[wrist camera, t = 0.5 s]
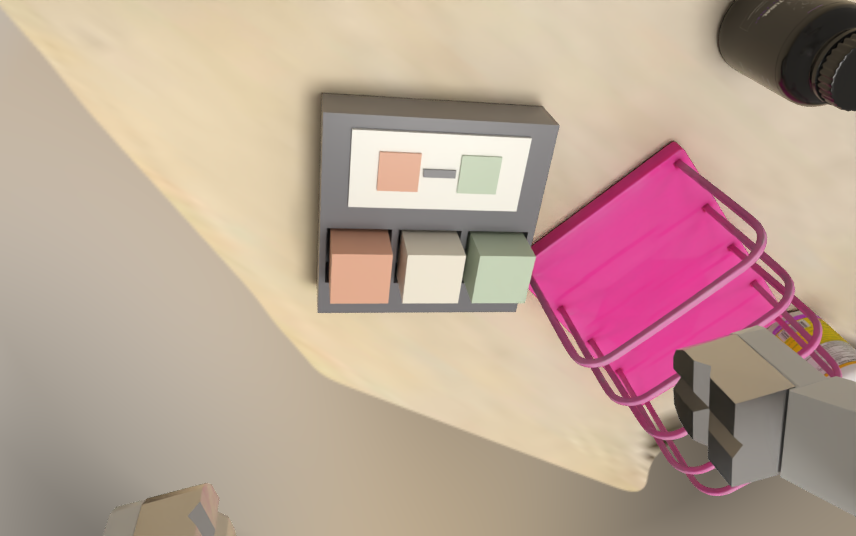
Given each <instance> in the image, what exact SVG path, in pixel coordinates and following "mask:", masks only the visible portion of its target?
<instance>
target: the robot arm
mask: <svg viewBox="0 0 856 536" xmlns="http://www.w3.org/2000/svg"><path fill="white" fill-rule="evenodd" d="M673 369H674V370H675V371H676V372H677V374H678V375H679V376H680V377H681V378H680V379H679V381H678V382H677V384H676V385H675V387H674V388H673V391H674V405H675V408H676V411H677V414H678V417H679V420H680V421H681V423H682V425H683V427H684V429H685V430H686V432H687V433H688V434H689V435H690V437H691V438H692V439H693V440H694V441H697V442H699V443H701V444H704V445H706V446H708V459H709V461H710V462H711V463H712V464H713V465H714V467H715V468H716V469H717V470H718V472H719V473H720V474H721V475H722V477H723V478H724V479H725V480H726V481H727V483H728V484H729V485H730V486H731V487H735V486H739V485H743V484H746V483H750V482H754V481H757V480H761V479H765V478H768V477H772V476H776V475H779V474H780V477H781V478H783V479H786V480H787V481H789V482H791V483H793V484H795V485H797V486H799V487H800V488H802V489H804V490H806V491H808V492H810V493H812V494H814V495H816V496H818V497H820V498H821V499H823V500H825V501H827V502H829V503H831V504H833V505H835V506H837V507H838V508H840V509H842V510H844V511H846V512H848V513H850V514H852V515H854V516H856V382H855V381H851V380H848V379H844V378H841V377H838V376H835V377H831V378H827V377H825V376H824V375H823V374H822V373H821V372H819V371H818V370H817V369H816V368H814V367H813V366H812V365H811V364H809V363H808V362H807V361H806V360H804V359H803V358H802V357H801V356H800V355H798V354H797V353H796V352H795V351H793V350H792V349H791V348H790V347H788V346H787V345H786V344H785V343H783V342H782V341H781V340H780V339H779V338H777V337H776V336H775V335H774V334H772V333H771V332H770V331H769V330H767V329H766V328H765V327H762V326H758V325H756V326H753V327H750V328H746V329H743V330H740V331H736V332H733V333H730V334H729V335H725V336H721V337H718V338H714V339H711V340H707V341H704V342H701V343H697V344H694V345H690V346H687V347H683V348H680V349H677V350H676V351H675V354H674V356H673ZM218 504H219V497H218V495H217V493H216V491H215V490H214V488H213V486H212V485H211V484H208V483H204V484H200V485H196V486H192V487H189V488H185V489H181V490H177V491H173V492H169V493H166V494H161V495H158V496H154V497H150V498H147V499H146V500H141V501H137V502H133V503H129V504H125V505H121V506H118V507H116V508H115V509H114V510H113V511H112V512H111V513H110V515H109V518H108V521H107V524H106V527H105V530H104V533H103V536H236V533H235V530H234V527H233V525H232V522H231V520H230V519H229V517H228V516H226V515H224V514H222V513H219V512H218Z"/></svg>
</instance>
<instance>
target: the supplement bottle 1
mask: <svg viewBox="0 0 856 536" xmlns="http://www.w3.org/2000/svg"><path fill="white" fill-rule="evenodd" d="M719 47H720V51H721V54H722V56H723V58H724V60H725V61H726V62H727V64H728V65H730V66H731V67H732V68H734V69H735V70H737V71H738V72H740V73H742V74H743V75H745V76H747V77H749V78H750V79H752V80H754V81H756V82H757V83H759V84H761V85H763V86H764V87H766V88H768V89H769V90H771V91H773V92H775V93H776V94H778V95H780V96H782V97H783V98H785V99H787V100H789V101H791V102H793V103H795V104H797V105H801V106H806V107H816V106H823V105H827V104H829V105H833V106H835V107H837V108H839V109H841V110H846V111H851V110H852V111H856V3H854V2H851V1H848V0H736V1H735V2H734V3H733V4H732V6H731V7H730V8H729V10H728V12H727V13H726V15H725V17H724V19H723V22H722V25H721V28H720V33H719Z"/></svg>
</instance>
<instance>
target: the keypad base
mask: <svg viewBox="0 0 856 536" xmlns="http://www.w3.org/2000/svg"><path fill="white" fill-rule="evenodd" d="M559 126H560V125H559V124H558V123H557V122H556V121H555V120H554V119H553V117H552V116H551V115H550V114H549V113H548V112H547V111H546V110H545V108H544V107H542V106H526V105H509V104H493V103H476V102H460V101H444V100H427V99H411V98H394V97H378V96H361V95H345V94H329V93H322V104H321V143H320V182H319V221H318V260H317V307H318V313H385V312H516V308H517V304H518V303H471V300H470V298H469V295H468V292H467V289H466V287H465V284H464V281H463V278H462V283H461V288H460V294H459V300H458V303H402V299H401V295H400V290H399V285H398V280H397V276H396V272H397V262H398V253H399V244H400V234H401V230H445V231H457V234H458V236H459V239H460V241H461V244H462V246H463V249H464V252H465V250H466V244H467V239H468V233H469V231H494V232H523V234H524V236H525V238H526V240H527V241H528V243H529V245H530V247H531V245H532V240H533V236H534V232H535V228H536V223H537V219H538V215H539V211H540V206H541V202H542V198H543V194H544V189H545V185H546V181H547V177H548V172H549V168H550V164H551V160H552V155H553V151H554V147H555V143H556V138H557V134H558V130H559ZM330 228H346V229H388V234H389V238H390V243H391V248H392V252H393V260H392V270H391V280H390V290H389V300H388V303H380V304H330V292H329V247H330Z"/></svg>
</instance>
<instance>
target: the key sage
mask: <svg viewBox="0 0 856 536" xmlns="http://www.w3.org/2000/svg"><path fill="white" fill-rule="evenodd" d="M465 254H466V259H465V265H464V271H463V277H462V278H463V281H464V284H465V287H466V289H467V292H468V295H469V298H470V300H471V303H525V300H526V296H527V292H528V288H529V284H530V279H531V275H532V271H533V267H534V263H535V259H536V256H535V254H534V252H533V250H532V249H531V247H530V245H529V243H528V241H527V240H526V238H525V236H524V234H523V232H494V231H469V233H468V239H467V244H466V250H465Z"/></svg>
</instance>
